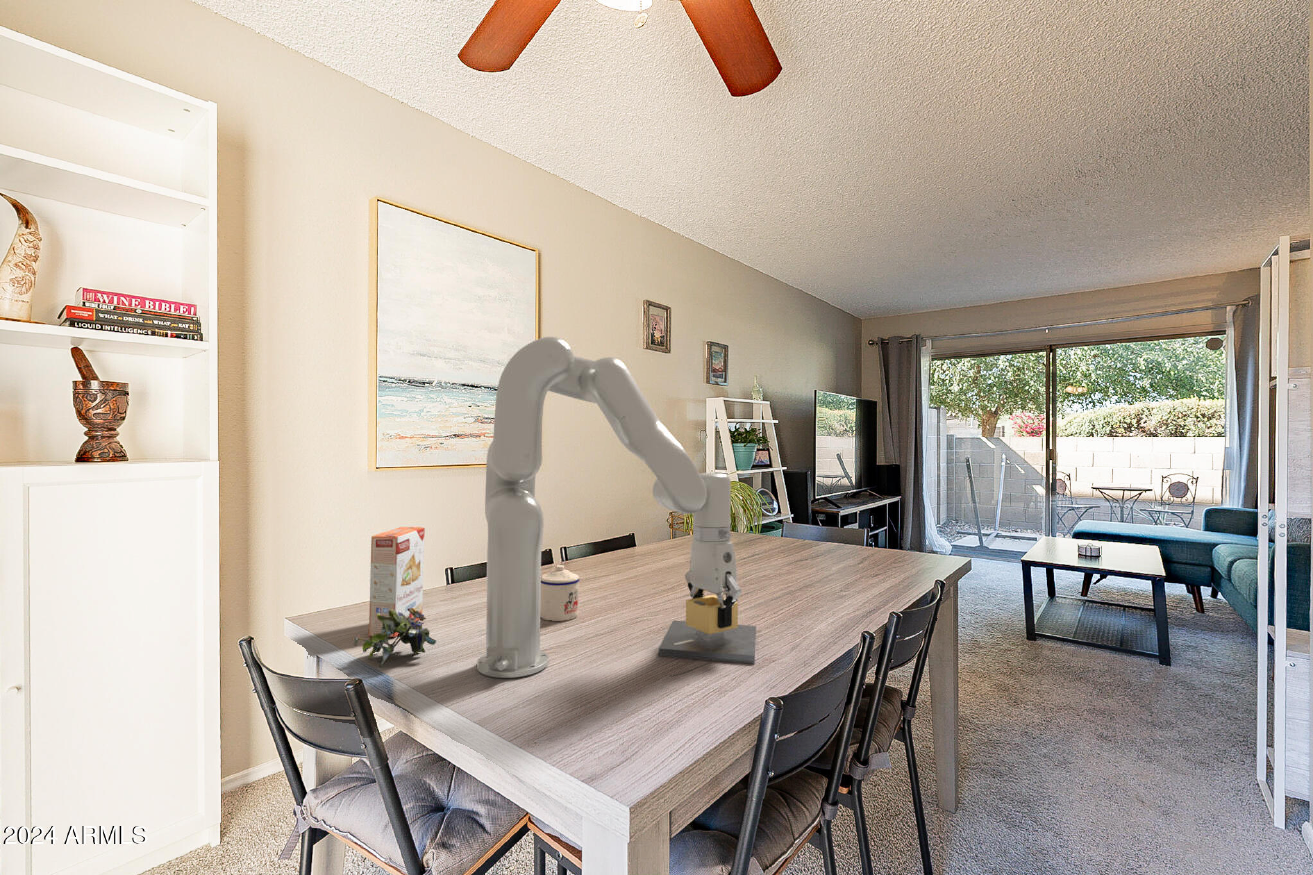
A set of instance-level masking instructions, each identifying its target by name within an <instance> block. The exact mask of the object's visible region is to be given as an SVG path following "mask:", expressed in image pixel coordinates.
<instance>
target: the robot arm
mask: <svg viewBox="0 0 1313 875" xmlns="http://www.w3.org/2000/svg"><path fill="white" fill-rule="evenodd" d="M548 392H551V393H555V394H558V395H562V396H566V397H568V398H572V399H575V400H579V401H580V400H581V401H584V402H586V403H587V402H589V403H592V404H596V405H597V406H598V407H599V409H600V411H601V412H602V414H603V415H604V417H605V419H606V420H607V422H608V423H609V425H610V427H611V429H612V430H613V432H614V433H615V435H616V437H617V438H618V439H619V441H620V442H621V444H622V445H623V446H624V447H625V448H626V449H627V450H628V451H629V452H630V453H631V454H633V455H634V456H636V457H637V458H638V459H640V460H641V461H642V462H643V463H644V464H646V466H647V467H648V468H649V470H651V472H652V473H653V474H654V476H655V478H657V479H655V481H654V483H653V485H652V495H653V499H654V500H655V502H657V503H658V504H659V505H660V506H661V507H662V508H664V509H668V510H671V511H674V512H677V513H679V514H684V515H691V514H692V516H693V517H692V519H693V520H692V521H693V523H692V524H693V525H692V526H693V527H692V528H693V529H692V533H693V534H692V535H693V536H692V538H693V539H692V542H691V548H690V556H689V557H690V558H689V570H688V571H687V572H686V573H685V574H684V578H685V582H686V583H687V588H688V589H689V592H690V593H689V595H690V597H691V598H690V599H694V598H700V597H705V595H704V594H705V592H709V593H711V594H713V595H716V596H717V598H718V601H719V604H720V607H718V628H725V627H729V626H731V625H732V606H734V603H735V602H737V601H738V598H739V597H740V595H741V593H742V589H741V587H740V586H739V584H738V576H737V575H738V574H737V573H738V572H737V559H736V552H735V546H734V544H733V542H732V541H731V538H732V533H731V504H732V503H731V499H732V498H731V493H732V491H731V489H732V488H731V487H732V486H731V485H732V484H731V478H730V476H729V475H728V474H726V473H722V472H702V473H700V471H699V470H698V469H697V466H696V465H695V463H694V462H693V460H692V459H691V457H690V456H689V455H690V454H688V452H687V451H686V450H685V449H684V447H683V446H682V444H680V443H679V441H678V440H677V439H676V438H675V437H674V436H673V435H672V433H671V432H670V431H669V430H668V428H667V427H666V426H665V425H664V424H663V423H662V422H661V421H660V419H659V418H658V416H657V415H656V413H655V411H654V410H653V408H652V407H651V405H650V403H649V401H648V400H647V399H646V397H645V395H644V394H643V391H642V390H641V388H640V386H639V385H638V384H637V381H636V380H635V379H634V377H633V376H632V373H631V372H630V370H629V369H628V368H627V366H626V365H625V363H623V362H622V361H621V360H620V359H617V358H616V357H602V358H599V359H596V360H592V359H588V358H583V357H580V356H577V355H574V353H573V350H572V348H571V346H570V345H569V344H568V342H567V341H565V340H564V339H561V338H560V337H556V336H545V337H542V338H541V337H540V338H538V339H535V340H532V341H531V342H530V343H528V344H526V345H524V346H523V347H521V348H520V349H519V350H518V351H516V352H515V353H514V355H513V356H512V357H511V358H510V359H509V361H508V362H507V364H506V365H505V367H504V369H503V371H502V373H501V375H500V378H499V381H498V384H497V389H496V396H495V408H494V420H493V439H492V441H491V442H490V445H489V447H488V449H487V455H486V467H485V468H486V469H485V470H486V471H485V492H484V495H485V500H484V511H485V512H484V514H485V519H486V522H487V547H486V548H487V553H486V554H487V555H486V558H487V559H486V620H485V621H486V622H485V623H486V626H485V629H486V632H485V633H486V634H485V640H486V641H485V642H486V643H485V653H484V654H482V655H481V656H480V657H479V658H478V659H477V661H476V669H477V671H478V672H479V673H480V674H482V675H484V676H487V677H492V678H497V679H498V678H501V679H513V678H521V677H526V676H531V675H533V674H536V673H539V672H540V671H542V670H544V669H545V668H546V667H547V666H548V664H549V654H547V653H546V652H545V651H544V650H542V649H541V616H540V605H541V576H542V572H541V571H542V569H541V567H542V550H543V549H542V548H543V547H542V546H543V539H544V538H543V536H544V526H545V524H544V513H543V509H542V508H541V505H540V504H539V501H538V500H537V499H536V496H535V495H536V475H537V474H538V472H539V471H540V468H541V466H542V463H543V462H542V461H543V448H542V447H543V446H542V442H543V441H542V440H543V439H542V438H543V433H542V432H543V416H544V405H545V399H546V396H547V393H548ZM724 596H725V597H724ZM724 598H725V600H724Z"/></svg>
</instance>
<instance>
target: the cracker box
mask: <svg viewBox="0 0 1313 875" xmlns="http://www.w3.org/2000/svg"><path fill="white" fill-rule="evenodd" d="M425 529H426V528H425V527H423V526H422V527H420V526H400V527H398V528H393V529H390V530H388V531H384V532H381V533H377V534H374V535H372V536H371V541H370V542H371V543H370V576H369V577H370V579H369V580H370V581H369V611H368V612H369V613H368V614H369V617H368V637H369V636H373V635H375V634H378V633H379V634H381V630H382V626H383V623H382V621H380V620H378V618H377V614H378V613H379V614H380V615H381V616H385V617H390V616H389V610H390V609H392V610H394V611H396V612H397V613H398V612H400V613H402V614H403V615H405V616H406V618H407V617H409V618H413V617H414V616H413V615H412V614H411V613H410V612H409V611H408V608H410V609H411V608H414V609H415V610H416V611H420V613H421V614H423V601H424V600H423V597H424V560H425V556H424V555H425V532H426V531H425ZM416 620H417V621H418V620H419V618H416V619H415V620H414V621H416ZM419 621H420V620H419ZM419 621H418V622H419ZM384 634H385V633H383V634H382V635H384ZM398 634H399V633H398V632H396V633H394V634H391V635H390V636H389V637H395V636H396V637H397V636H398ZM389 637H388V638H389ZM396 637H395V638H396Z"/></svg>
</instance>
